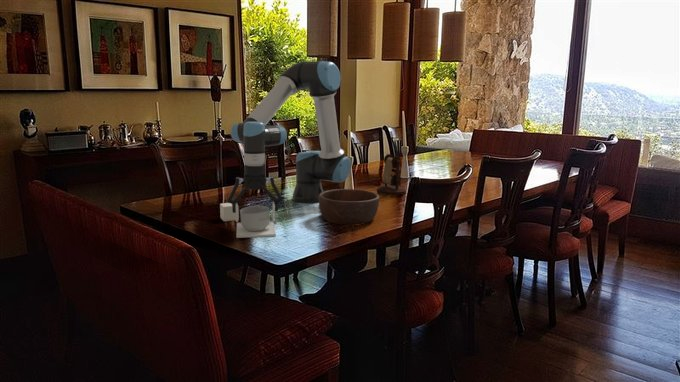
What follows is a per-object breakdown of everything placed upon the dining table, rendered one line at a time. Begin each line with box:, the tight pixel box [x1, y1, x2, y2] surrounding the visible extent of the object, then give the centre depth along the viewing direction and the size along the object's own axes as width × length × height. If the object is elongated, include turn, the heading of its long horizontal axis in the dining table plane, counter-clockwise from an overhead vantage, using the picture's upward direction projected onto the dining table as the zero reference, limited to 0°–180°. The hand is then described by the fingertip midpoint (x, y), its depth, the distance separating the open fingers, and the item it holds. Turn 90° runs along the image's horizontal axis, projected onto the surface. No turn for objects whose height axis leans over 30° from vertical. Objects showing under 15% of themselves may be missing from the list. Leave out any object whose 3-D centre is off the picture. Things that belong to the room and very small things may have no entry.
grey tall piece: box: [376, 153, 407, 196], centre depth 258 cm, size 15×15×20 cm
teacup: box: [239, 204, 271, 231], centre depth 193 cm, size 14×11×8 cm
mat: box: [236, 221, 277, 239], centre depth 194 cm, size 14×17×1 cm
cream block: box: [219, 202, 240, 222], centre depth 209 cm, size 6×6×6 cm
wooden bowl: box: [318, 188, 380, 226], centre depth 211 cm, size 25×25×10 cm
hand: (255, 220), depth 193 cm, fingers open, 13 cm apart
